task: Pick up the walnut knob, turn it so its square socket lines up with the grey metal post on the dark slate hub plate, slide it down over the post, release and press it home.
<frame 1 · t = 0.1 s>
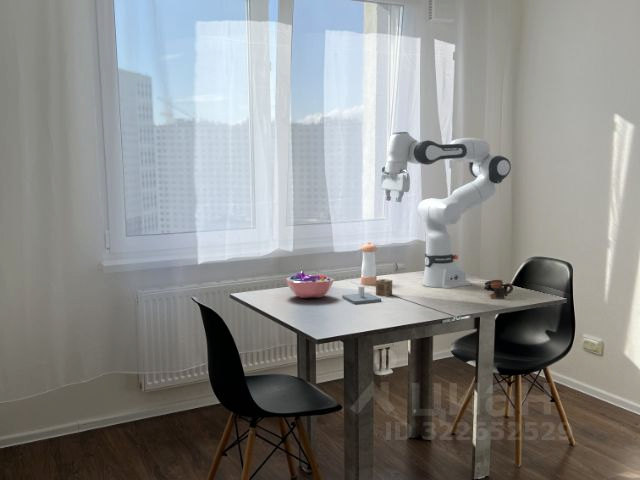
hand: (393, 201, 279), 39 cm above the table, tool pointing down, fingers open, 8 cm apart
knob: (384, 294, 273), on the table
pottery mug: (498, 297, 268), on the table
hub: (361, 299, 263), on the table
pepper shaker: (368, 284, 295), on the table
cell model: (309, 298, 268), on the table
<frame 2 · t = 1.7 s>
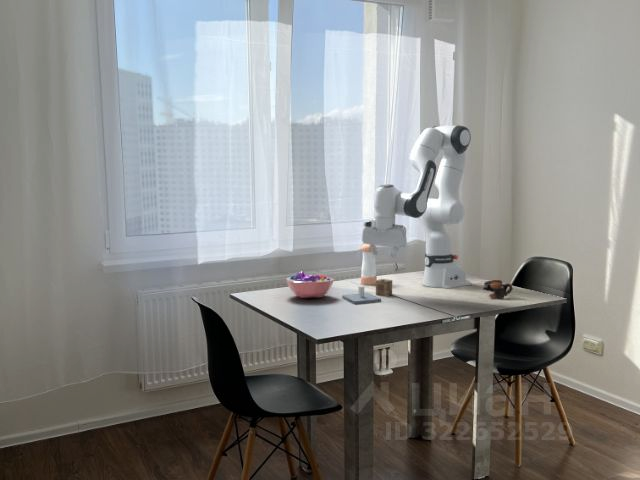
hand: (383, 256, 270), 16 cm above the table, tool pointing down, fingers open, 8 cm apart
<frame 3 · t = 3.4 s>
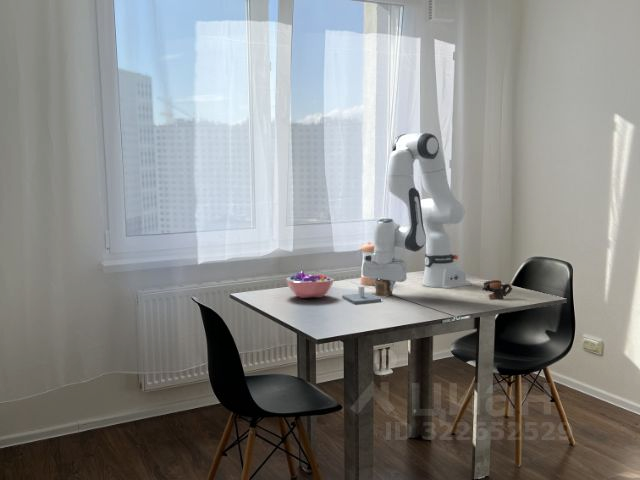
hand: (384, 289, 272), 2 cm above the table, tool pointing down, fingers closed on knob, 5 cm apart
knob: (384, 294, 273), on the table, touching gripper
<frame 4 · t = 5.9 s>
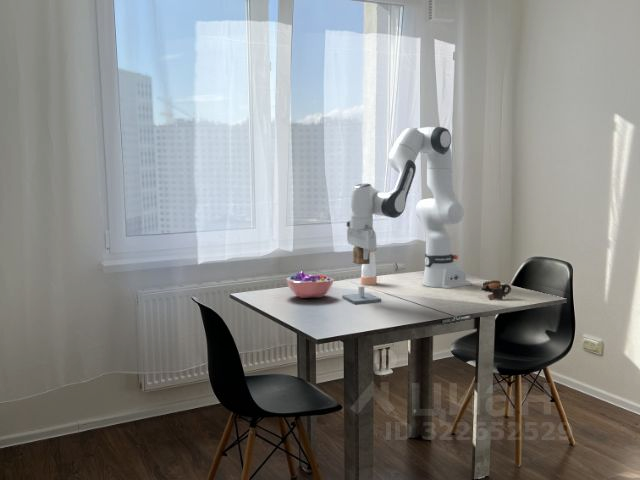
hand: (361, 258, 261), 17 cm above the table, tool pointing down, fingers closed on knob, 5 cm apart
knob: (361, 263, 261), point 15 cm above the table, touching gripper
when the fingers open (4 cm above the table, at t = 8.5 s): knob drops 1 cm, resting on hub.
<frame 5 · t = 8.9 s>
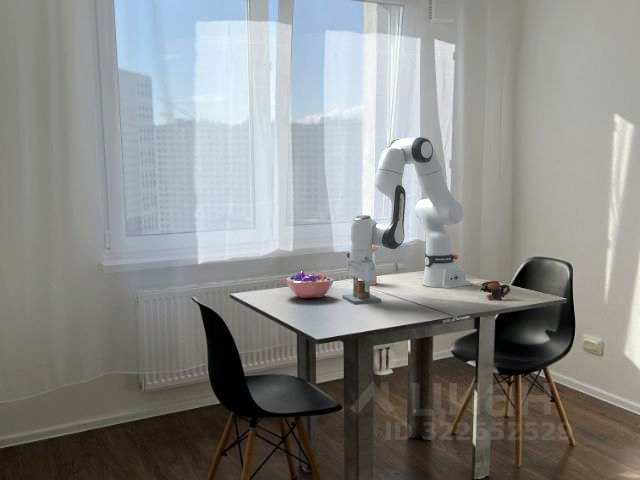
hand: (361, 289, 263), 4 cm above the table, tool pointing down, fingers open, 8 cm apart
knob: (361, 296, 263), point 1 cm above the table, touching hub
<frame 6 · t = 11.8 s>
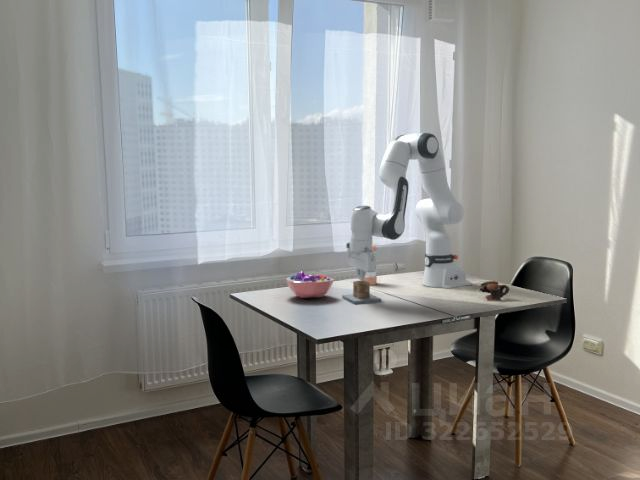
hand: (361, 279, 262), 8 cm above the table, tool pointing down, fingers closed
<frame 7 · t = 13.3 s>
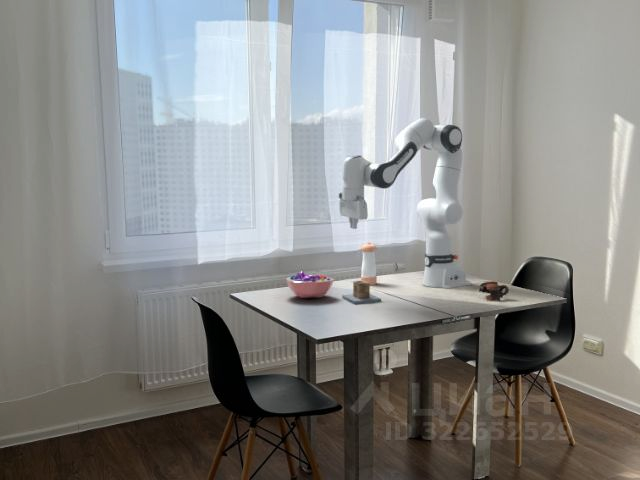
hand: (353, 228, 267), 29 cm above the table, tool pointing down, fingers closed
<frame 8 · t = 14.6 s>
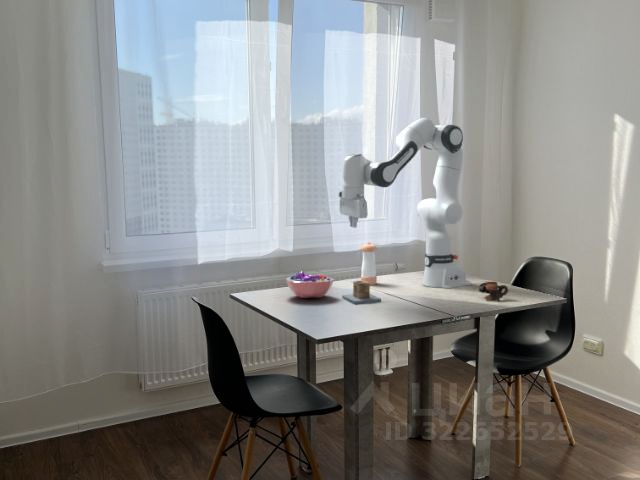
hand: (353, 227, 267), 29 cm above the table, tool pointing down, fingers closed
at the end: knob 0.0 cm off-centre on the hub, point 1.2 cm above the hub's base; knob tilted 0°; the gripper is holding nothing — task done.
